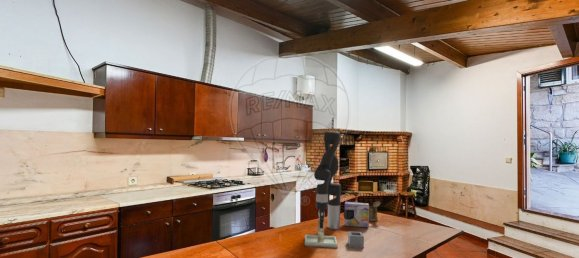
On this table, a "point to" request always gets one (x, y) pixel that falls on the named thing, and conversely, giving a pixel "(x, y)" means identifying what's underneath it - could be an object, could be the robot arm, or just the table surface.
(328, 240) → the sage tray
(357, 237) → the grey cup
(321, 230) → the birch peg
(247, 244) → the table surface
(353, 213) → the cake pan box
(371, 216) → the wooden mug
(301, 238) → the table surface
